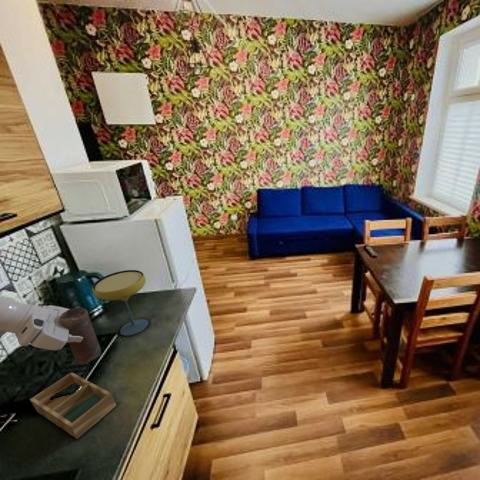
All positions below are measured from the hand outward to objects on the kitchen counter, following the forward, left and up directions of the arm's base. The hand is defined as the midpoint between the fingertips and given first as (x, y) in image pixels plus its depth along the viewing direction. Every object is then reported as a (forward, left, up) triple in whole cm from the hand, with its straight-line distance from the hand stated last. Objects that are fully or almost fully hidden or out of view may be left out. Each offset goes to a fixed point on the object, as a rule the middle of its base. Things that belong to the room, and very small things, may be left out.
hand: (82, 332), depth 94 cm
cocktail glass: (-9, +21, -17) cm, 28 cm away
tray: (+11, -12, -17) cm, 24 cm away
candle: (-1, -1, -12) cm, 12 cm away
